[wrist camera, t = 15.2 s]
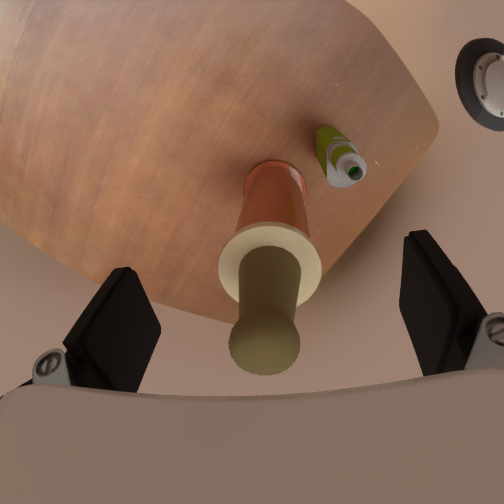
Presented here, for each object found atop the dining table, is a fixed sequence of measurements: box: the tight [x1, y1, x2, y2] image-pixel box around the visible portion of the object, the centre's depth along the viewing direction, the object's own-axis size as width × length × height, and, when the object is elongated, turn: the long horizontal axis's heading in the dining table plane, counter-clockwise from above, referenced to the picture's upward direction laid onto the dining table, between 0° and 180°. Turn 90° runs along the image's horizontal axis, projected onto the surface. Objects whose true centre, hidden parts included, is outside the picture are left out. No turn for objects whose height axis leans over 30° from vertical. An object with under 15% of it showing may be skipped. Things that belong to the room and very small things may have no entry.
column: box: [218, 160, 322, 307], centre depth 41 cm, size 10×10×24 cm
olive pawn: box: [229, 246, 301, 375], centre depth 26 cm, size 6×6×11 cm
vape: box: [316, 126, 367, 188], centre depth 38 cm, size 4×6×20 cm, turn 5°
